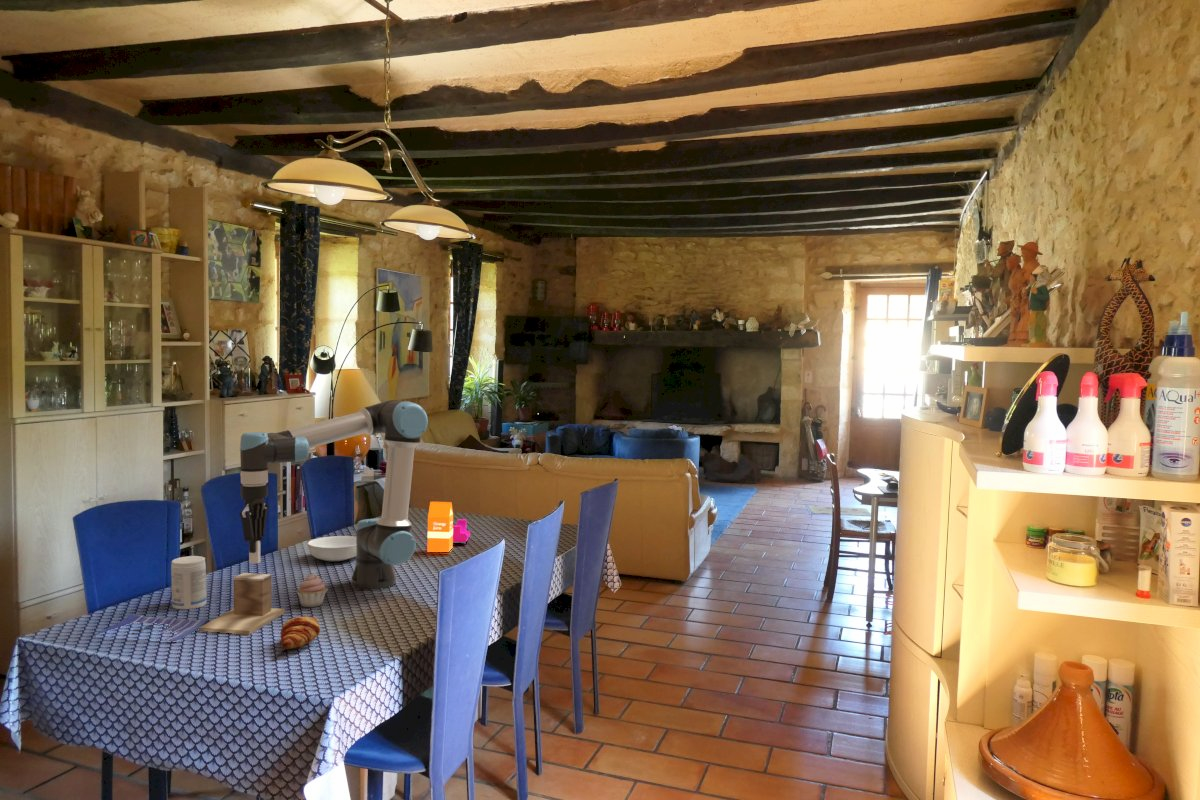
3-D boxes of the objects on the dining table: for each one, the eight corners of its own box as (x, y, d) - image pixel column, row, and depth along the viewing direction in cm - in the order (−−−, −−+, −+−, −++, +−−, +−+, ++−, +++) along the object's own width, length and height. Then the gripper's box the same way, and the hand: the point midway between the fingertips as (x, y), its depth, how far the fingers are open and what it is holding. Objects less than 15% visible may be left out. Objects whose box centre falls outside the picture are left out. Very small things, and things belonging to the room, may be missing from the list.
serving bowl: (372, 553, 323) (372, 536, 322) (351, 567, 302) (351, 548, 301) (322, 551, 325) (322, 534, 324) (297, 564, 304) (297, 546, 303)
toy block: (465, 544, 342) (466, 526, 342) (451, 543, 342) (451, 526, 342) (472, 536, 357) (472, 519, 357) (457, 536, 357) (458, 519, 357)
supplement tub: (206, 600, 258) (206, 554, 257) (206, 608, 249) (206, 561, 249) (172, 603, 254) (171, 557, 253) (170, 612, 245) (170, 564, 244)
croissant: (306, 639, 233) (291, 615, 233) (336, 621, 233) (321, 597, 233) (276, 665, 212) (260, 639, 212) (309, 646, 212) (293, 620, 212)
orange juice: (449, 553, 326) (449, 503, 324) (427, 552, 326) (427, 503, 325) (452, 548, 333) (453, 500, 332) (431, 548, 334) (432, 499, 332)
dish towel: (132, 621, 238) (132, 612, 238) (210, 625, 236) (210, 615, 236) (91, 642, 221) (91, 632, 221) (175, 646, 219) (175, 636, 219)
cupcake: (318, 610, 250) (318, 578, 250) (290, 608, 252) (290, 576, 252) (333, 601, 260) (333, 570, 259) (306, 599, 261) (306, 568, 261)
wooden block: (271, 610, 245) (271, 574, 245) (262, 616, 240) (262, 579, 240) (242, 609, 246) (242, 573, 245) (233, 614, 241) (233, 577, 240)
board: (284, 612, 247) (284, 608, 247) (249, 634, 228) (249, 630, 227) (237, 610, 249) (237, 606, 249) (199, 631, 229) (199, 627, 229)
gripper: (253, 480, 249) (254, 556, 250) (230, 487, 236) (231, 567, 237) (277, 481, 248) (277, 557, 249) (255, 488, 235) (255, 568, 236)
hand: (254, 562), depth 243 cm, fingers closed
